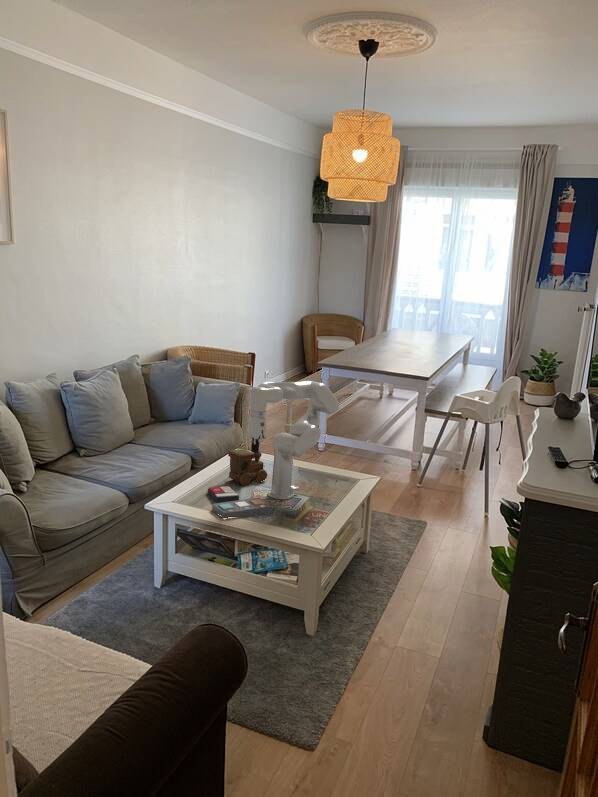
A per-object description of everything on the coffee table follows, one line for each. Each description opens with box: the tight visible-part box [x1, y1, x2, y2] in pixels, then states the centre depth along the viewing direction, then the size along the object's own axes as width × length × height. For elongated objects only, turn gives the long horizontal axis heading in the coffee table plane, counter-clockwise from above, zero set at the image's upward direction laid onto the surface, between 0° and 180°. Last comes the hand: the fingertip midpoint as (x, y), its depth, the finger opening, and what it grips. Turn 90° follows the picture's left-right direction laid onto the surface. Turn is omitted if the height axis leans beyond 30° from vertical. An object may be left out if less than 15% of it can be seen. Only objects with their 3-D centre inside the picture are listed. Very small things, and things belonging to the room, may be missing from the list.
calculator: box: [207, 485, 240, 504], centre depth 295 cm, size 11×4×15 cm
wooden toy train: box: [227, 448, 268, 486], centre depth 321 cm, size 20×11×17 cm, turn 130°
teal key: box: [219, 504, 234, 511], centre depth 276 cm, size 5×5×2 cm
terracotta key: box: [250, 498, 266, 506], centre depth 284 cm, size 5×5×2 cm
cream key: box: [235, 501, 250, 508], centre depth 280 cm, size 5×5×2 cm
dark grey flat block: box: [211, 497, 273, 519], centre depth 280 cm, size 24×12×3 cm, turn 123°
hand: (254, 451), depth 287 cm, fingers closed
